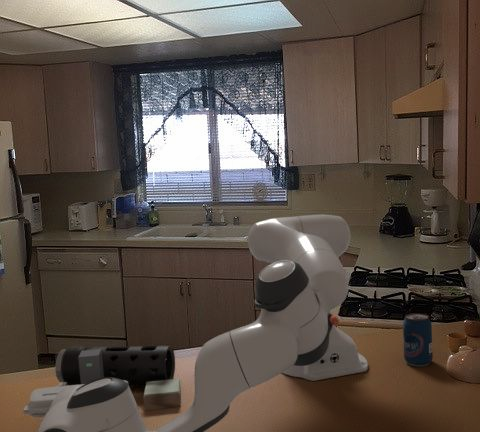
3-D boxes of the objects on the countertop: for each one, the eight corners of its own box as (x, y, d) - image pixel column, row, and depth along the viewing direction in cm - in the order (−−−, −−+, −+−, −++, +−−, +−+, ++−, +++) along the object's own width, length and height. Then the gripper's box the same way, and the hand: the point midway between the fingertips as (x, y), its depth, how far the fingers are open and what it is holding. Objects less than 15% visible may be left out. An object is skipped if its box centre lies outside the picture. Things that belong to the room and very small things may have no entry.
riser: (180, 392, 138) (179, 378, 137) (180, 406, 130) (179, 391, 129) (146, 395, 137) (145, 381, 137) (144, 410, 129) (143, 395, 129)
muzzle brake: (167, 394, 137) (163, 352, 136) (55, 395, 142) (51, 354, 140) (177, 379, 147) (173, 339, 146) (72, 379, 151) (68, 341, 150)
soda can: (399, 364, 146) (397, 317, 145) (411, 355, 152) (409, 311, 150) (426, 369, 142) (424, 321, 141) (437, 360, 147) (435, 314, 146)
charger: (106, 397, 138) (101, 348, 137) (103, 406, 133) (98, 355, 131) (86, 399, 137) (82, 350, 136) (83, 408, 132) (78, 357, 131)
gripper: (22, 430, 115) (39, 401, 129) (126, 419, 117) (132, 392, 130) (18, 399, 114) (36, 374, 128) (123, 389, 116) (130, 365, 130)
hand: (86, 383), depth 129 cm, fingers open, 8 cm apart
